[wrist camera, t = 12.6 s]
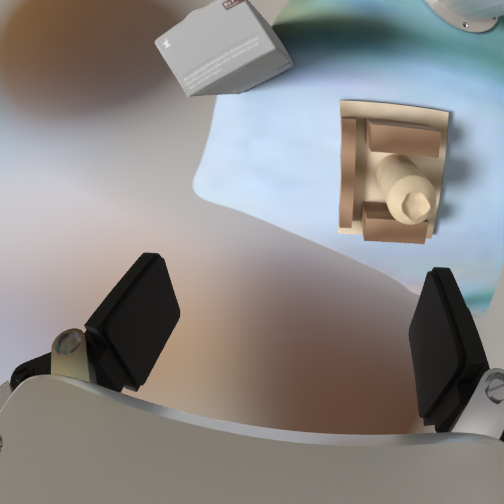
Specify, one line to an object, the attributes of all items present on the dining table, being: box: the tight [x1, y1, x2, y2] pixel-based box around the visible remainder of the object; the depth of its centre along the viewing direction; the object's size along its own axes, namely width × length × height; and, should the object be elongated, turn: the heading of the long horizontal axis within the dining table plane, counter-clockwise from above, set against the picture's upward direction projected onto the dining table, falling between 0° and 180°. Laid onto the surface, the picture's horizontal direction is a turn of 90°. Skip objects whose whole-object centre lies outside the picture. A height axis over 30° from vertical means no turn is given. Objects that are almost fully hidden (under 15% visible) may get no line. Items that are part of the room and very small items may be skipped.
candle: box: [376, 154, 436, 225], centre depth 30 cm, size 6×6×10 cm
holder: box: [338, 100, 449, 244], centre depth 33 cm, size 18×14×6 cm
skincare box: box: [155, 0, 294, 97], centre depth 25 cm, size 8×7×16 cm
